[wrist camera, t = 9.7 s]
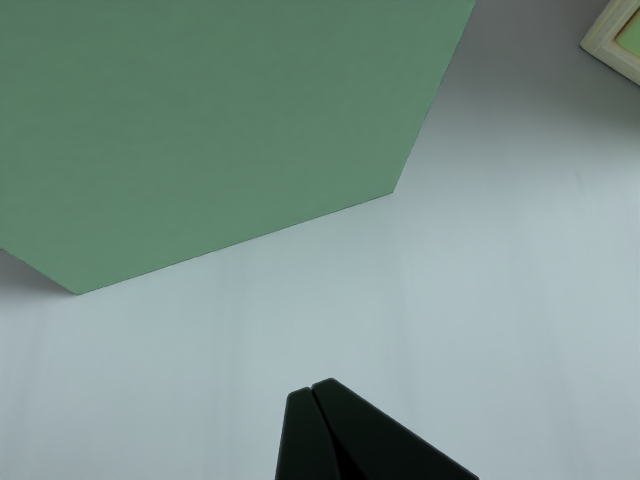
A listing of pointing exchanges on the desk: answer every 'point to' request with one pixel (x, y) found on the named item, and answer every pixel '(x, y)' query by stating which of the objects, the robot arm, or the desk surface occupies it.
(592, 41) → the tall beige block
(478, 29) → the desk surface
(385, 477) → the robot arm
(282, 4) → the storage box
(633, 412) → the desk surface
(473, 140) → the desk surface
